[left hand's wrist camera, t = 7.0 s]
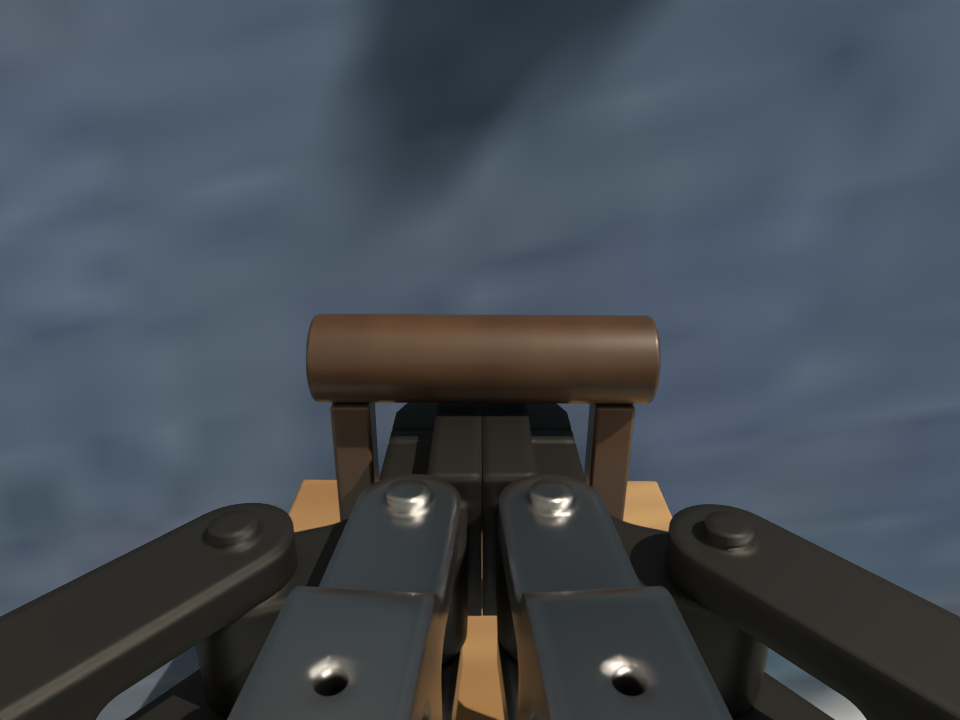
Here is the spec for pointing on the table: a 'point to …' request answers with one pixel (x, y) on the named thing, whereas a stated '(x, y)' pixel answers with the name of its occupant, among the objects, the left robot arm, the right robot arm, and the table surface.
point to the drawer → (481, 379)
